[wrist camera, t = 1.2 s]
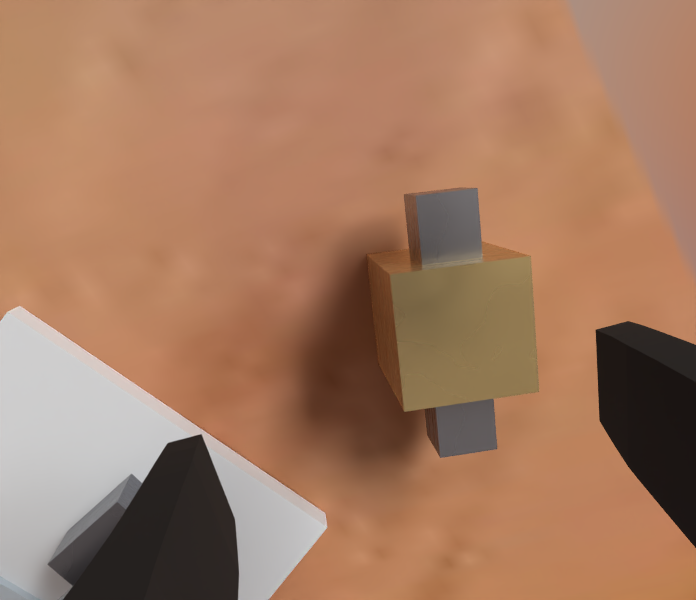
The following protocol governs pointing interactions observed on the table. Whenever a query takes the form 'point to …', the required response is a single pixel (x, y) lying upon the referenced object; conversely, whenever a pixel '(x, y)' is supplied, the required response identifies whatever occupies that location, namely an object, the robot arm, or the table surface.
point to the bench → (111, 464)
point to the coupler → (453, 321)
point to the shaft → (92, 532)
